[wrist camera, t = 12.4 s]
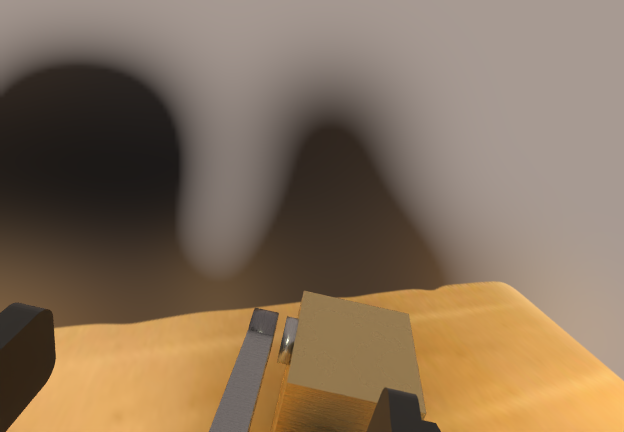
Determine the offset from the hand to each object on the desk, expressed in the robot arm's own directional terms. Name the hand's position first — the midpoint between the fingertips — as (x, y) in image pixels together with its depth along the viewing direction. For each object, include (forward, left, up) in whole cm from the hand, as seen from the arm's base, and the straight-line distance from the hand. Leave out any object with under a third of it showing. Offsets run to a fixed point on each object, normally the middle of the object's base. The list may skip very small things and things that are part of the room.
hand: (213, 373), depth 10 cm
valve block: (+6, +15, -26) cm, 30 cm away
